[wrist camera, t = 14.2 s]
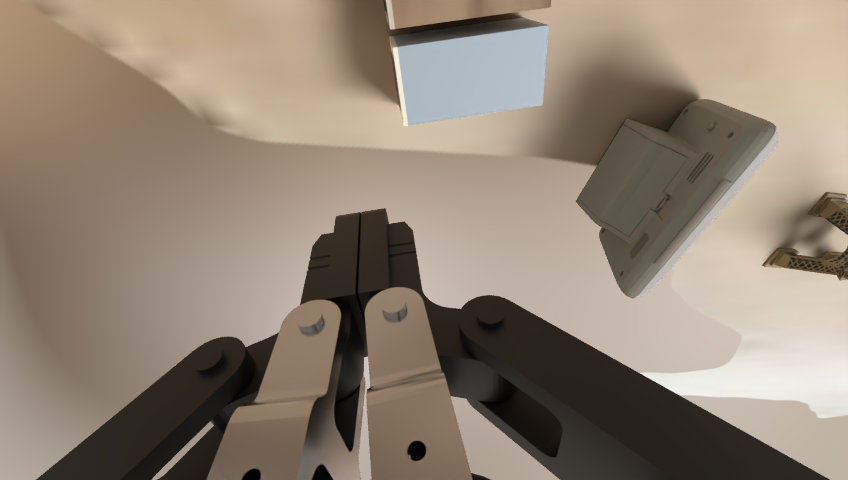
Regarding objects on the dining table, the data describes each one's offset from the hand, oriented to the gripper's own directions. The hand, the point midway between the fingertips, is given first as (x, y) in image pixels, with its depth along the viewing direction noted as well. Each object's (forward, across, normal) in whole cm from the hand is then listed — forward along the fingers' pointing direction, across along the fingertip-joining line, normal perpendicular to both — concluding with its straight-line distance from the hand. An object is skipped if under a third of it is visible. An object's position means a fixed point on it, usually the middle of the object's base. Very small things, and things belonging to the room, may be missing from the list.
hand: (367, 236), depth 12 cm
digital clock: (+22, -24, +12) cm, 34 cm away
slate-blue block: (+19, -2, 0) cm, 19 cm away
